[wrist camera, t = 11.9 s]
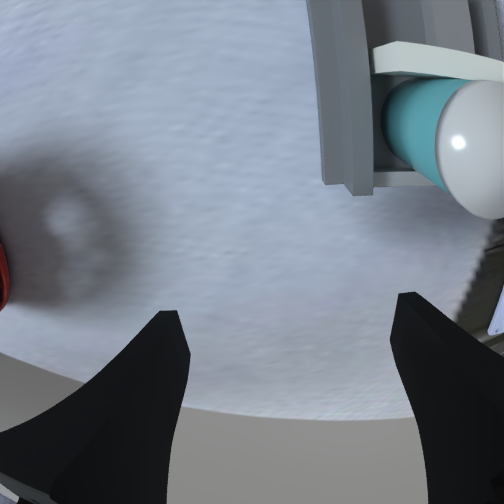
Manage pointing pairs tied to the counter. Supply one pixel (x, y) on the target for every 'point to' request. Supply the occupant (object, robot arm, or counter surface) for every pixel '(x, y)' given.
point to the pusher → (438, 48)
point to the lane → (370, 84)
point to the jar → (451, 137)
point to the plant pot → (4, 279)
